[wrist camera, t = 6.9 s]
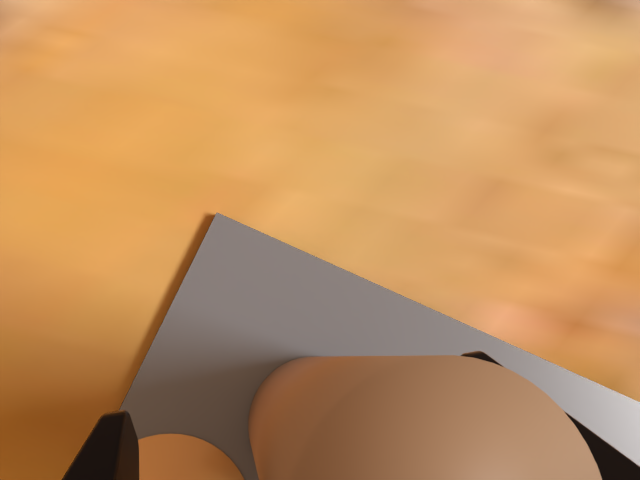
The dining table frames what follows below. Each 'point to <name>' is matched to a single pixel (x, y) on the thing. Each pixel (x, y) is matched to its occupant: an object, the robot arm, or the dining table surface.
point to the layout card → (300, 352)
